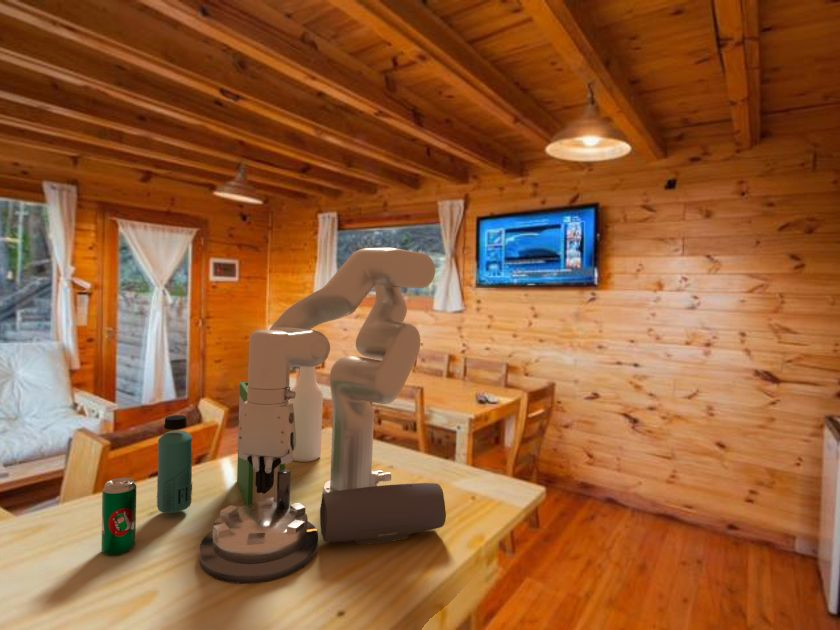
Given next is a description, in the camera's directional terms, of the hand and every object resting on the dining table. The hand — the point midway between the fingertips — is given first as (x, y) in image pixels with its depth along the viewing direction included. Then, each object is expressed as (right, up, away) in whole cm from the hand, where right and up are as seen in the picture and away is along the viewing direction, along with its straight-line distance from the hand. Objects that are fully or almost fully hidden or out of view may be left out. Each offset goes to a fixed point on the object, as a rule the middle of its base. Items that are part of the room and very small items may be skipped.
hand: (264, 490), depth 93 cm
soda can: (-23, -8, -8) cm, 25 cm away
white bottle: (-2, -6, +43) cm, 43 cm away
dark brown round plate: (+1, -9, -6) cm, 10 cm away
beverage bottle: (-20, -7, +6) cm, 23 cm away
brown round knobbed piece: (+1, -6, -6) cm, 9 cm away
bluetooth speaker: (+22, -10, 0) cm, 24 cm away
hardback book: (-7, -7, +18) cm, 20 cm away
